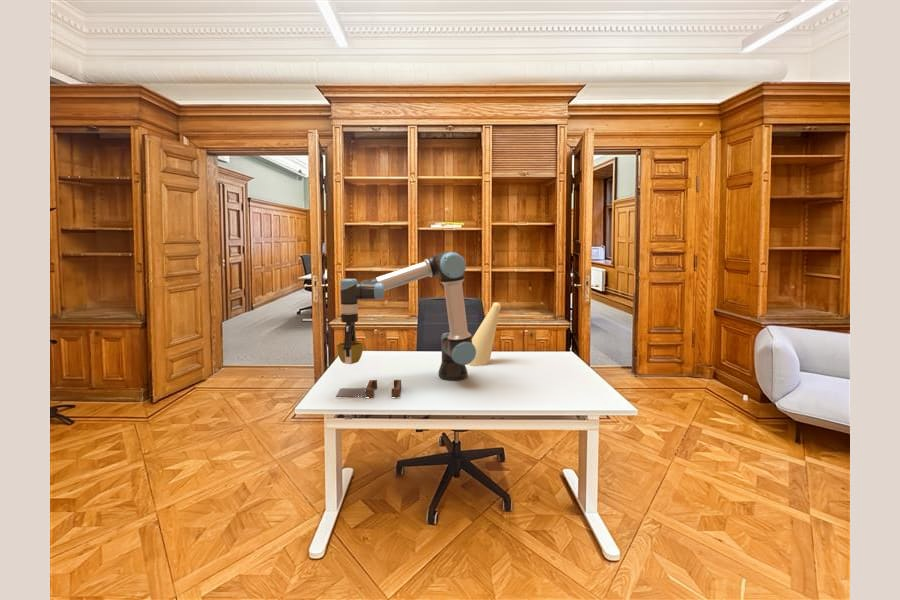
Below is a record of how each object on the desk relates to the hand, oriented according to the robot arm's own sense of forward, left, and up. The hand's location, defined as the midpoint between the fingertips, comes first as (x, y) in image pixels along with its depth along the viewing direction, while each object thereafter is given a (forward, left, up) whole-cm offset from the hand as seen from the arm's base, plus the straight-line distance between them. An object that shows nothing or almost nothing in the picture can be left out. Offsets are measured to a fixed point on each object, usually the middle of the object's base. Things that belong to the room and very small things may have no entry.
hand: (350, 360), depth 228 cm
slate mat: (0, 0, -16) cm, 16 cm away
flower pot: (0, 0, -1) cm, 1 cm away
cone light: (-64, -55, -16) cm, 86 cm away
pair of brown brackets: (-15, 0, -16) cm, 22 cm away
